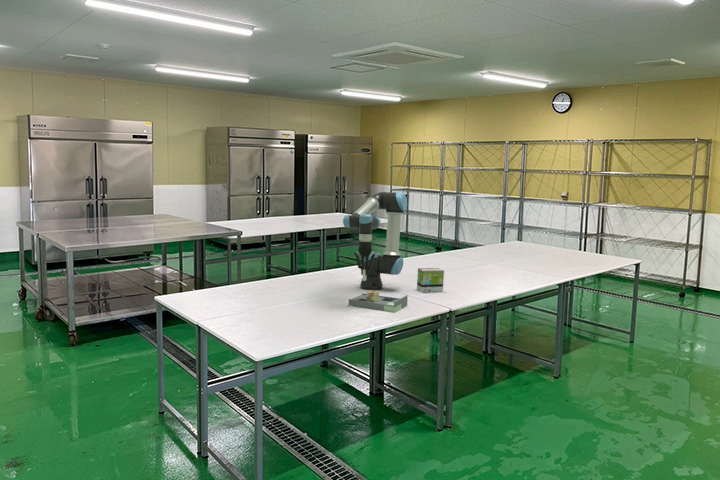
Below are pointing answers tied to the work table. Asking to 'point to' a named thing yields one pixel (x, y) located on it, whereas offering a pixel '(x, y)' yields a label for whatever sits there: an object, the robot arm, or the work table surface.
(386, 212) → the robot arm
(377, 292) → the block
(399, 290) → the work table surface
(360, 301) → the board
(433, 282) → the tea box
